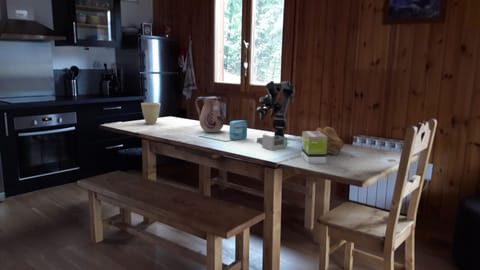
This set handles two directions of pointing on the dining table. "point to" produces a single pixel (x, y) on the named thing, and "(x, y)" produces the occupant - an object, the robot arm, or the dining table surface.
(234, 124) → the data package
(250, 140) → the dining table surface
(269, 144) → the grey block
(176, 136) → the dining table surface
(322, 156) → the tea box
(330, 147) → the rough brown rock
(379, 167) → the dining table surface
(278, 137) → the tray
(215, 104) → the ceramic pitcher
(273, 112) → the robot arm
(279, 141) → the caddy
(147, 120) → the plant pot
